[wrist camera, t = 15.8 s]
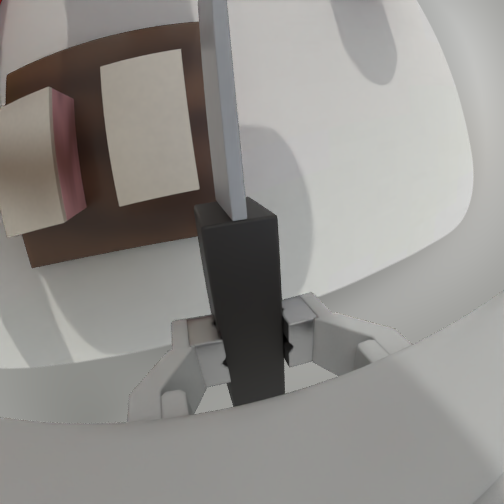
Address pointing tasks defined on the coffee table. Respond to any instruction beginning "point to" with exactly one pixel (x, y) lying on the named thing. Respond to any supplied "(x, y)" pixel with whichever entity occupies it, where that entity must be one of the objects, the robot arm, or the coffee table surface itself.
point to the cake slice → (148, 127)
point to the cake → (90, 152)
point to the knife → (237, 234)
